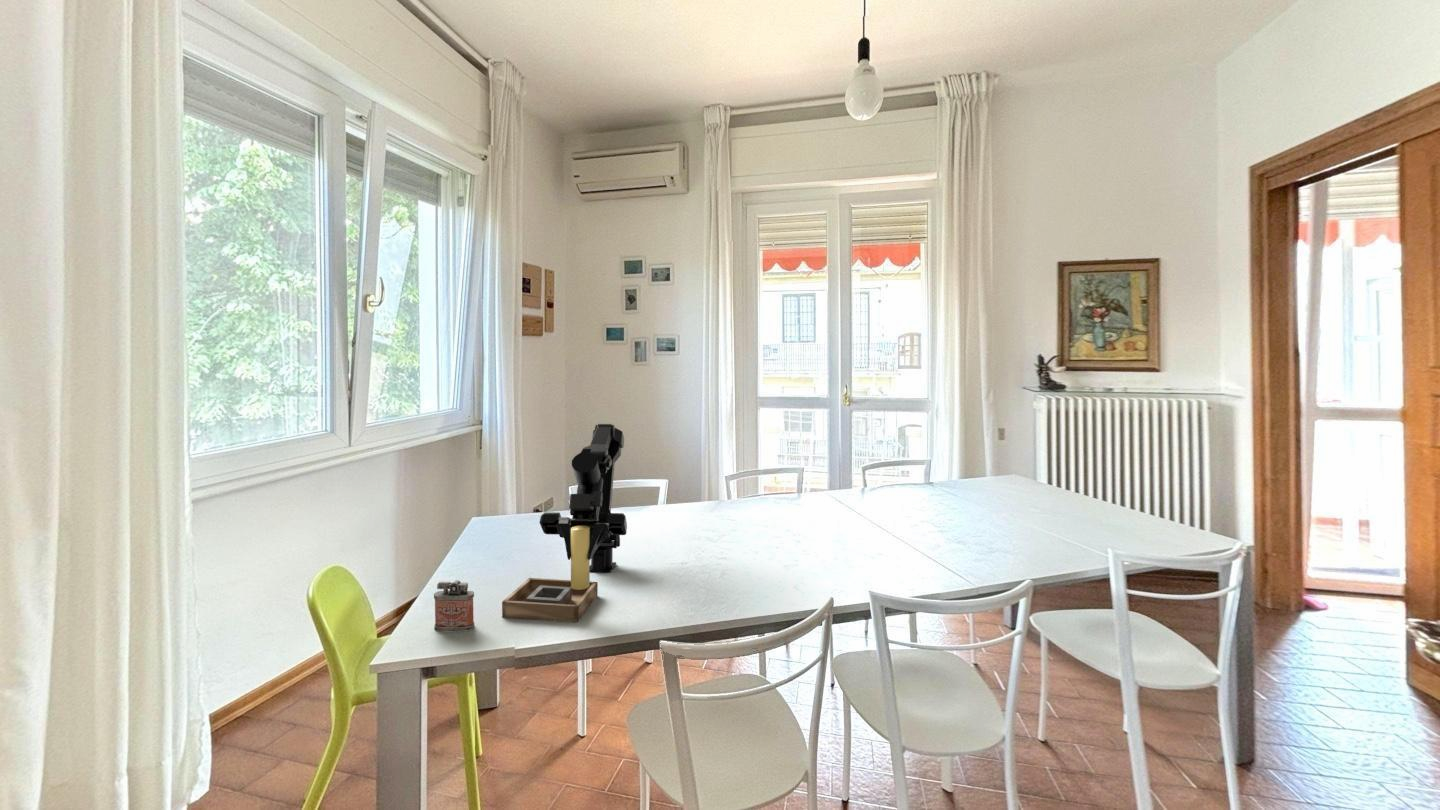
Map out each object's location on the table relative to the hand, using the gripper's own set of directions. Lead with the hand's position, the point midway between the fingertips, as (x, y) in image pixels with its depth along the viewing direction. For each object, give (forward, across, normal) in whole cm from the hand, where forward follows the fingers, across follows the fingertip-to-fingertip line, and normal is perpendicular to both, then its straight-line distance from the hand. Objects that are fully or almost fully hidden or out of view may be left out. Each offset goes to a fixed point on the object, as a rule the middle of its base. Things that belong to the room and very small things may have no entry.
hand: (578, 559), depth 126 cm
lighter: (+13, -25, +7) cm, 29 cm away
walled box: (+5, -8, +14) cm, 17 cm away
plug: (+4, 0, +6) cm, 7 cm away
